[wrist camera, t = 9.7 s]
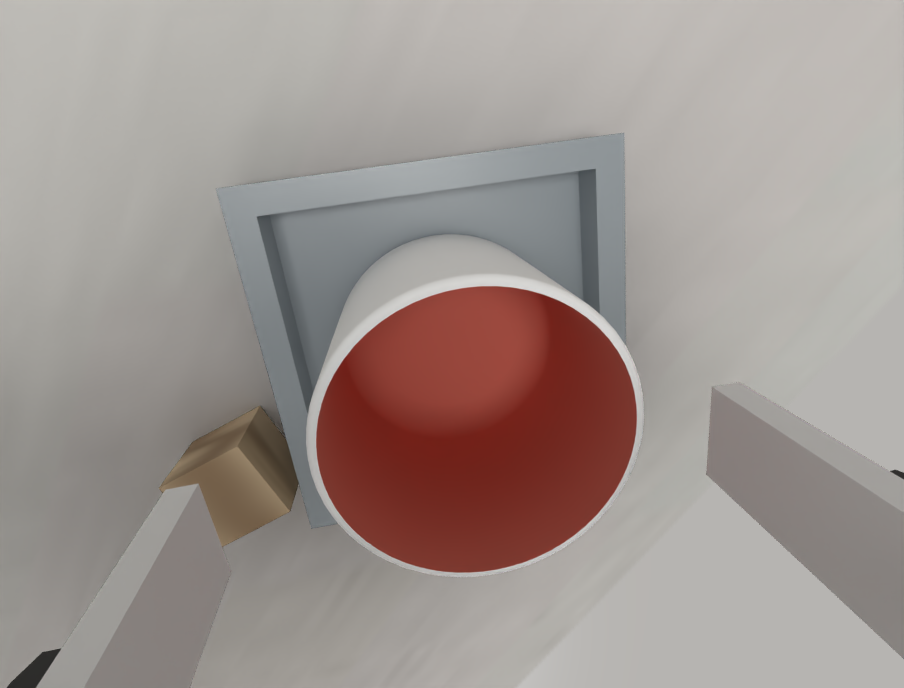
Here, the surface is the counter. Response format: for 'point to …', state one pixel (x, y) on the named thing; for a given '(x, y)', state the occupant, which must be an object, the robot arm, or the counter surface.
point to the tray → (409, 218)
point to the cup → (470, 411)
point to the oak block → (240, 474)
